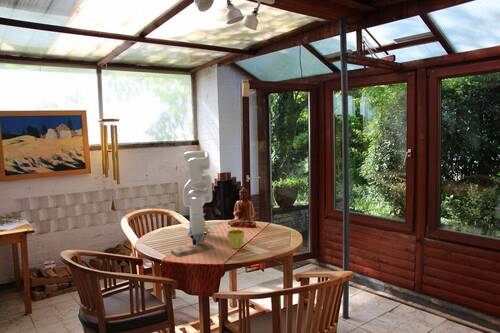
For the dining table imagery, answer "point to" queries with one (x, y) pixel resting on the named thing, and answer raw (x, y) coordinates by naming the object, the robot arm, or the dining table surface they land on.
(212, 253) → the dining table surface
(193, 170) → the robot arm
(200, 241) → the wooden handled gray mallet
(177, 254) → the board
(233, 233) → the plant pot
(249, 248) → the dining table surface
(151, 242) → the dining table surface
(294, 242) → the dining table surface
